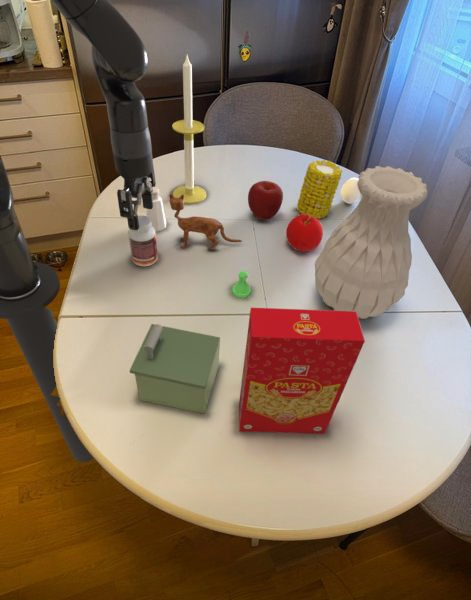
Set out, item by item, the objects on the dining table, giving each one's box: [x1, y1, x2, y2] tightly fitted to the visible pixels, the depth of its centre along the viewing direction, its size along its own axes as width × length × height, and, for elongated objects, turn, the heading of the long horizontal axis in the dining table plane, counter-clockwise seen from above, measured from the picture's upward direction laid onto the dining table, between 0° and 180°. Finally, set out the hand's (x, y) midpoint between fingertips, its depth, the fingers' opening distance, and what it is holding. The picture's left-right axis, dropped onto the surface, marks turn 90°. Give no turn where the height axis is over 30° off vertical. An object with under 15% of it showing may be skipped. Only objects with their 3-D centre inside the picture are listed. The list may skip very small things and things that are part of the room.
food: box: [296, 159, 343, 220], centre depth 117 cm, size 15×12×10 cm
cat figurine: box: [169, 193, 243, 251], centre depth 103 cm, size 18×7×14 cm, turn 92°
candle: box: [171, 55, 208, 205], centre depth 111 cm, size 10×10×38 cm
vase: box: [314, 165, 429, 320], centre depth 85 cm, size 20×20×30 cm
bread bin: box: [134, 341, 221, 415], centre depth 75 cm, size 12×11×8 cm
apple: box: [247, 180, 284, 221], centre depth 115 cm, size 10×10×10 cm
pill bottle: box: [127, 215, 159, 267], centre depth 98 cm, size 6×6×11 cm
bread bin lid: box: [129, 323, 221, 389], centre depth 70 cm, size 13×11×4 cm
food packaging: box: [238, 306, 366, 435], centre depth 64 cm, size 15×5×25 cm, turn 90°
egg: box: [340, 177, 362, 205], centre depth 124 cm, size 6×6×8 cm
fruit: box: [285, 213, 324, 252], centre depth 106 cm, size 9×9×10 cm
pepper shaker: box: [146, 186, 167, 233], centre depth 108 cm, size 5×5×11 cm
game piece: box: [232, 270, 251, 299], centre depth 94 cm, size 4×4×6 cm
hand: (141, 218), depth 93 cm, fingers open, 8 cm apart
